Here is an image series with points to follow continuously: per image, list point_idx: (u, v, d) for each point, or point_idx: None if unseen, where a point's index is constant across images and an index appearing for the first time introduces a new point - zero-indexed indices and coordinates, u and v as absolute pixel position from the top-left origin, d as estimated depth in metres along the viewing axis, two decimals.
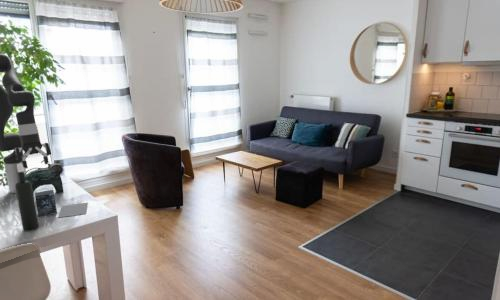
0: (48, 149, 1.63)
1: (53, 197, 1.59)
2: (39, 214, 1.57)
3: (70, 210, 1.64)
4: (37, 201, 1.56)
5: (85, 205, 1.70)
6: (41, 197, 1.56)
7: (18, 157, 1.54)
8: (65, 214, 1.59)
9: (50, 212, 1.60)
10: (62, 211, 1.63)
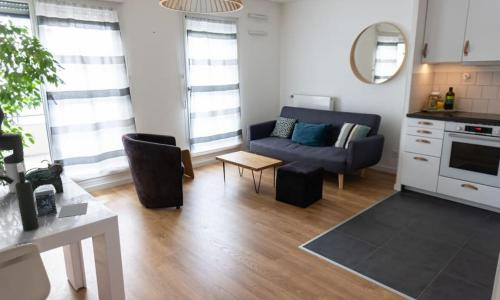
0: None
1: (53, 197, 1.59)
2: (39, 214, 1.57)
3: (70, 210, 1.64)
4: (37, 201, 1.56)
5: (85, 205, 1.70)
6: (41, 197, 1.56)
7: None
8: (65, 214, 1.59)
9: (50, 212, 1.60)
10: (62, 211, 1.63)
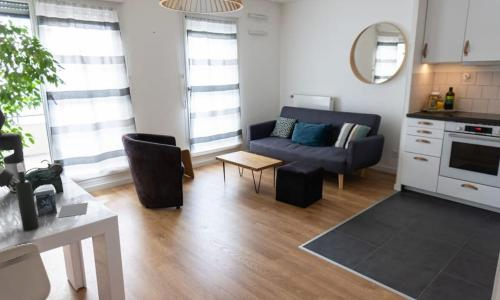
0: None
1: (53, 197, 1.59)
2: (39, 214, 1.57)
3: (70, 210, 1.64)
4: (37, 201, 1.56)
5: (85, 205, 1.70)
6: (41, 196, 1.56)
7: None
8: (65, 214, 1.59)
9: (50, 212, 1.60)
10: (62, 211, 1.63)
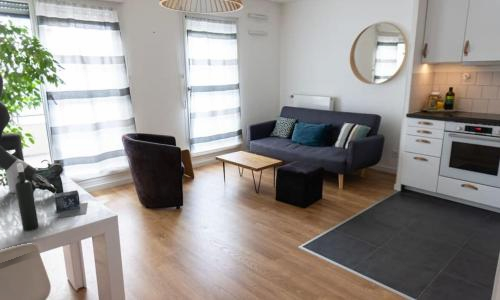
0: None
1: (75, 207, 1.66)
2: (57, 198, 1.60)
3: (70, 210, 1.64)
4: (72, 195, 1.64)
5: (85, 205, 1.70)
6: (77, 198, 1.65)
7: None
8: (65, 214, 1.59)
9: (58, 207, 1.61)
10: (62, 211, 1.63)
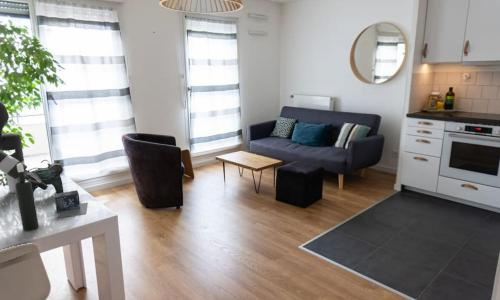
0: None
1: (75, 207, 1.66)
2: (57, 198, 1.60)
3: (70, 210, 1.64)
4: (72, 195, 1.64)
5: (85, 205, 1.70)
6: (77, 198, 1.65)
7: None
8: (65, 214, 1.59)
9: (58, 207, 1.61)
10: (62, 211, 1.63)
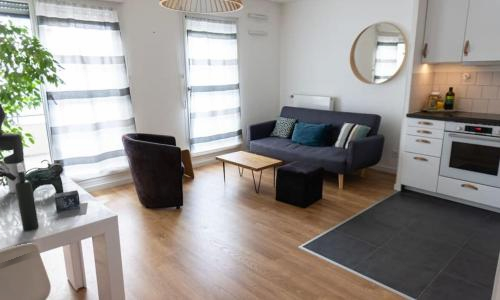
0: None
1: (75, 207, 1.66)
2: (57, 198, 1.60)
3: (70, 210, 1.64)
4: (72, 195, 1.64)
5: (85, 205, 1.70)
6: (77, 198, 1.65)
7: None
8: (65, 214, 1.59)
9: (58, 207, 1.61)
10: (62, 211, 1.63)
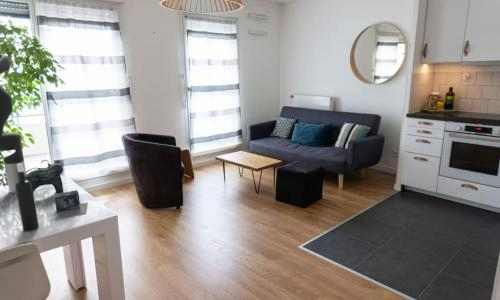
0: None
1: (75, 207, 1.66)
2: (57, 198, 1.60)
3: (70, 210, 1.64)
4: (72, 195, 1.64)
5: (85, 205, 1.70)
6: (77, 198, 1.65)
7: None
8: (65, 214, 1.59)
9: (58, 207, 1.61)
10: (62, 211, 1.63)
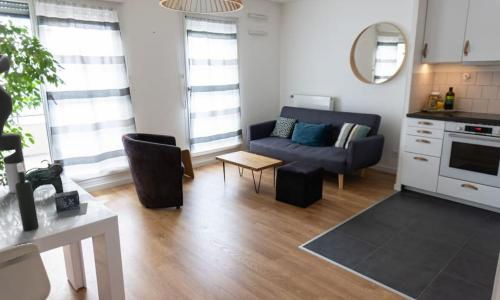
0: None
1: (75, 207, 1.66)
2: (57, 198, 1.60)
3: (70, 210, 1.64)
4: (72, 195, 1.64)
5: (85, 205, 1.70)
6: (77, 198, 1.65)
7: None
8: (65, 214, 1.59)
9: (58, 207, 1.61)
10: (62, 211, 1.63)
